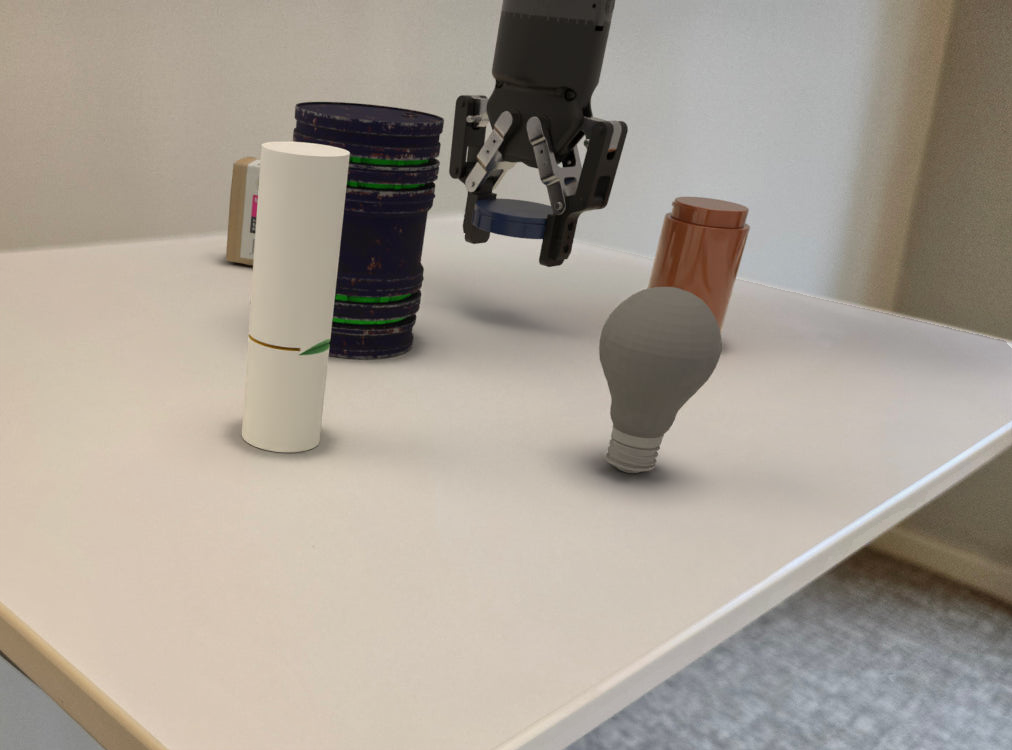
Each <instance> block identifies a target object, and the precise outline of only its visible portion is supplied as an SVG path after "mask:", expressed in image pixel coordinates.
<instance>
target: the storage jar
mask: <svg viewBox="0 0 1012 750" xmlns="http://www.w3.org/2000/svg"><path fill="white" fill-rule="evenodd" d="M294 119H295V121H296V122H295V127H294V128H293V130H292V131H293V132H292V142H304V143H314V144H322V145H328V146H333V147H338V148H341V149H345V150H347V151H349V152H350V157H349V166H348V176H347V185H346V195H345V204H344V214H343V224H342V233H341V243H340V252H339V262H338V271H337V281H336V291H335V300H334V310H333V319H332V328H331V338H330V342H329V345H330V347H329V357H336V358H343V359H357V360H358V359H359V360H365V359H366V360H372V359H373V360H375V359H385V358H392V357H396V356H400V355H403V354H405V353H407V352H409V351H410V350H411V349H412V348H413V345H414V344H413V343H414V334H413V330H414V326H415V325H416V324H417V323H416V322H417V313H418V312H419V310H420V308H421V307H420V305H421V298H422V291H421V288H422V287H423V281H424V280H425V277H424V273H425V272H424V271H425V269H424V266H423V264H422V257H423V249H424V241H425V235H426V229H427V228H426V227H427V222H428V221H427V220H428V214H429V211H430V210H431V209H432V208H433V206H434V200H435V198H436V194H435V191H436V183H435V182H436V181H437V180H438V179H439V178H438V177H439V176H438V175H439V172H440V164H441V162H440V160H438V159H437V158H438V157H440V153H441V146H442V144H441V141H440V138H441V135H442V133H443V131H444V125H445V119H444V118H443V117H442V116H441V115H436V114H433V113H429V112H426V111H425V112H424V111H419V110H416V109H415V110H414V109H410V108H409V109H408V108H402V107H395V106H387V105H378V104H368V103H357V102H345V101H344V102H341V101H305V102H304V101H303V102H298V103H296V104H295V106H294Z"/></svg>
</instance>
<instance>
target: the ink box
mask: <svg viewBox="0 0 1012 750" xmlns="http://www.w3.org/2000/svg"><path fill="white" fill-rule="evenodd" d="M260 160H261V158H256V157H255V156H245V157H243V158H240V159H238V160H236V161H235V162H233V164H232V165H233V166H232V174H231V183H230V194H229V205H228V206H229V207H228V221H227V222H228V223H227V237H226V252H225V253H226V254H225V260H226V261H227V262H233V263H238V264H243V265H248V266H253V262H254V248H255V233H256V218H257V204H258V189H259V174H260Z"/></svg>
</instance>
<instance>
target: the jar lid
mask: <svg viewBox="0 0 1012 750" xmlns="http://www.w3.org/2000/svg"><path fill="white" fill-rule="evenodd" d="M548 214H553V211H552V209H551V205H550V204H546V203H545V204H544V203H541V202H534V201H530V200H522V199H514V198H513V199H512V198H497V197H496V198H495V199H482V200H478V201H476V203H475V208H474V211H473V217H472V223H473V225H474V226H476V227H477V228H479V229H482V230H484V231H487V232H490V234H495V235H499V236H503V237H510V238H515V239H516V238H517V239H526V240H543V236H544V231H545V226H546V221H547V215H548Z"/></svg>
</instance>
